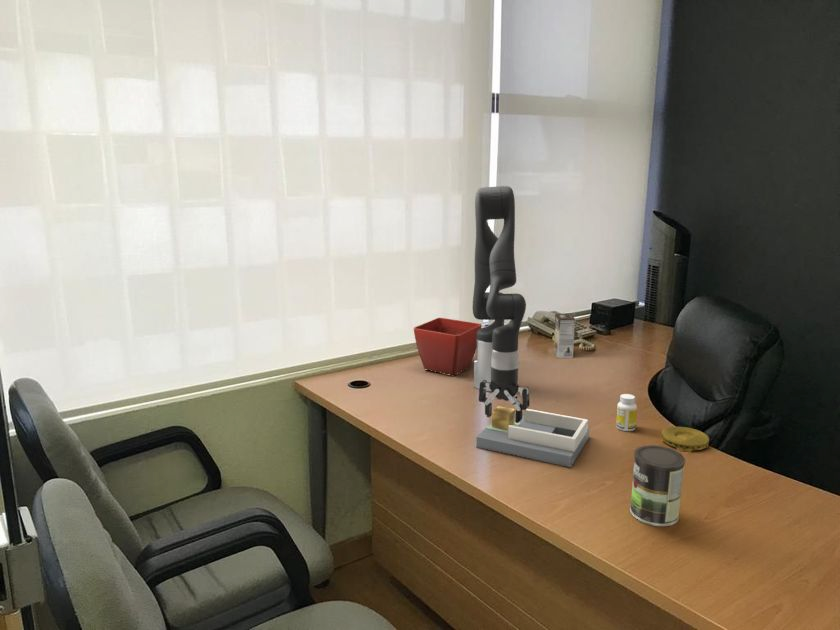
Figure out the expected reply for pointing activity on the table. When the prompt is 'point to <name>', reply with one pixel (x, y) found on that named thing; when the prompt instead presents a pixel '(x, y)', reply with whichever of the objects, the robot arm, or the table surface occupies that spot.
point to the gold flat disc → (685, 438)
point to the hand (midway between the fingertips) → (503, 419)
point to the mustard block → (503, 417)
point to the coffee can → (657, 485)
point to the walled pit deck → (539, 437)
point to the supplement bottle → (626, 413)
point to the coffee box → (564, 335)
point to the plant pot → (446, 344)
